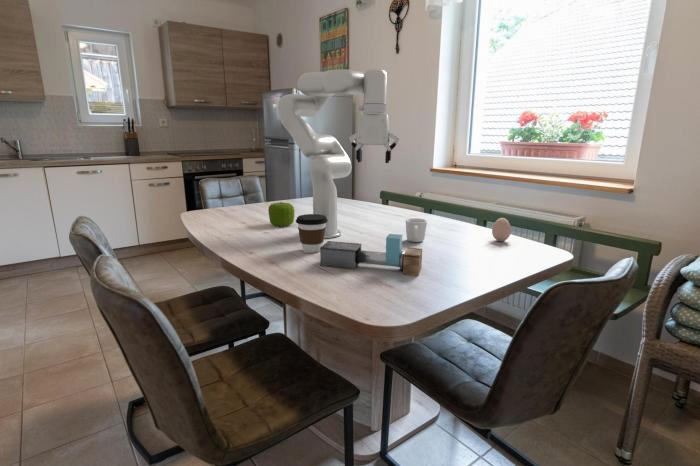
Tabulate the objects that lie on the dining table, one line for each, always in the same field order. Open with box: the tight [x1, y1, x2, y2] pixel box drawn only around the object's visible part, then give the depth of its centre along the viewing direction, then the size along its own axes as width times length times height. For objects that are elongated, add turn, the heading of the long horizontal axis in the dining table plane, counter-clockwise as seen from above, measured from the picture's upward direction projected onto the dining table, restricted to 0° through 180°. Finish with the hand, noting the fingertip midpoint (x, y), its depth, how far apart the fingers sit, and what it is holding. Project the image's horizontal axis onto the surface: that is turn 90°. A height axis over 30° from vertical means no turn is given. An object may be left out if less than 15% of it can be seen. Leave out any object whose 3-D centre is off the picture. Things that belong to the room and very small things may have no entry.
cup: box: [405, 217, 428, 243], centre depth 150 cm, size 11×8×8 cm
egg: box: [491, 217, 512, 243], centre depth 151 cm, size 7×7×9 cm
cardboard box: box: [402, 247, 423, 277], centre depth 119 cm, size 4×8×6 cm, turn 164°
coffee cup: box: [295, 213, 328, 254], centre depth 138 cm, size 11×11×12 cm
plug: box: [356, 233, 406, 271], centre depth 120 cm, size 19×6×10 cm, turn 74°
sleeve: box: [319, 240, 362, 270], centre depth 125 cm, size 11×8×6 cm
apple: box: [267, 201, 295, 228], centre depth 175 cm, size 11×11×11 cm
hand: (373, 162), depth 136 cm, fingers open, 9 cm apart
